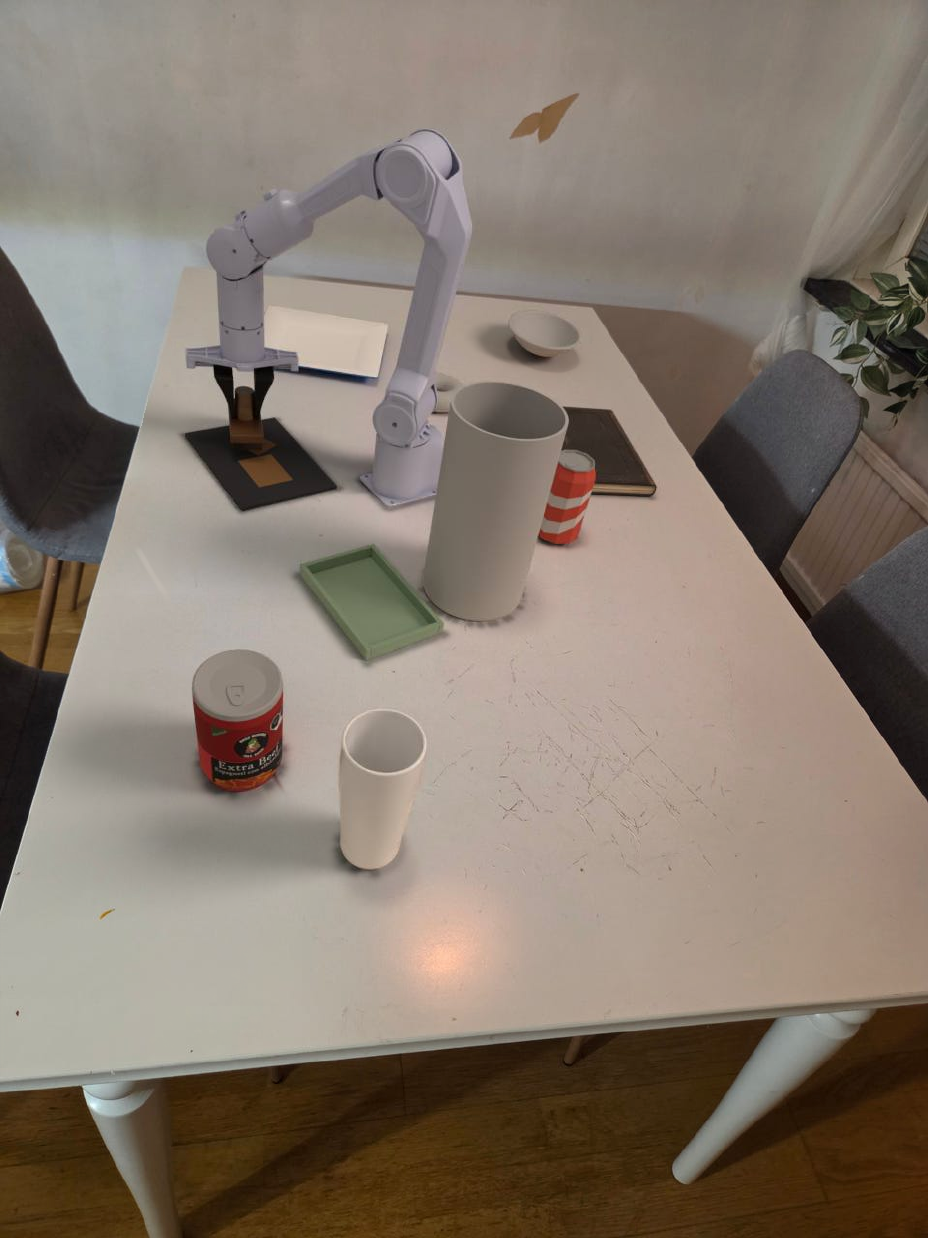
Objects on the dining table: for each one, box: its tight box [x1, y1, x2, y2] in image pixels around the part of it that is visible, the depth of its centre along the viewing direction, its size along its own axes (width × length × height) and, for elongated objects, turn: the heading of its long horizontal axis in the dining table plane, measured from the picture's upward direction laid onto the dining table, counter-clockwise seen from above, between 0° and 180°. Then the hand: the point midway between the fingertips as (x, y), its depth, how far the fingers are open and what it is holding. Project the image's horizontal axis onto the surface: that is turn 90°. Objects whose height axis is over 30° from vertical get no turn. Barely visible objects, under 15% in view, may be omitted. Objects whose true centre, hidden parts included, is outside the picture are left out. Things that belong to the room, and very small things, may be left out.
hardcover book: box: [561, 405, 658, 498], centre depth 129 cm, size 16×23×2 cm
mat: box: [184, 417, 338, 512], centre depth 113 cm, size 14×20×1 cm
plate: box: [264, 305, 389, 380], centre depth 142 cm, size 22×22×2 cm
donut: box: [433, 372, 464, 413], centre depth 134 cm, size 10×4×10 cm
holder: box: [299, 543, 445, 661], centre depth 94 cm, size 10×16×2 cm, turn 35°
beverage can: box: [538, 450, 596, 545], centre depth 108 cm, size 6×6×12 cm
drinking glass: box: [337, 708, 428, 870], centre depth 67 cm, size 7×7×15 cm
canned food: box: [191, 648, 284, 792], centre depth 72 cm, size 8×8×11 cm
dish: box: [507, 309, 583, 358], centre depth 155 cm, size 18×14×5 cm
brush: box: [227, 385, 264, 450], centre depth 112 cm, size 11×4×6 cm, turn 14°
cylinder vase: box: [422, 380, 569, 622], centre depth 92 cm, size 12×12×25 cm
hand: (244, 415), depth 113 cm, fingers closed on brush, 2 cm apart
